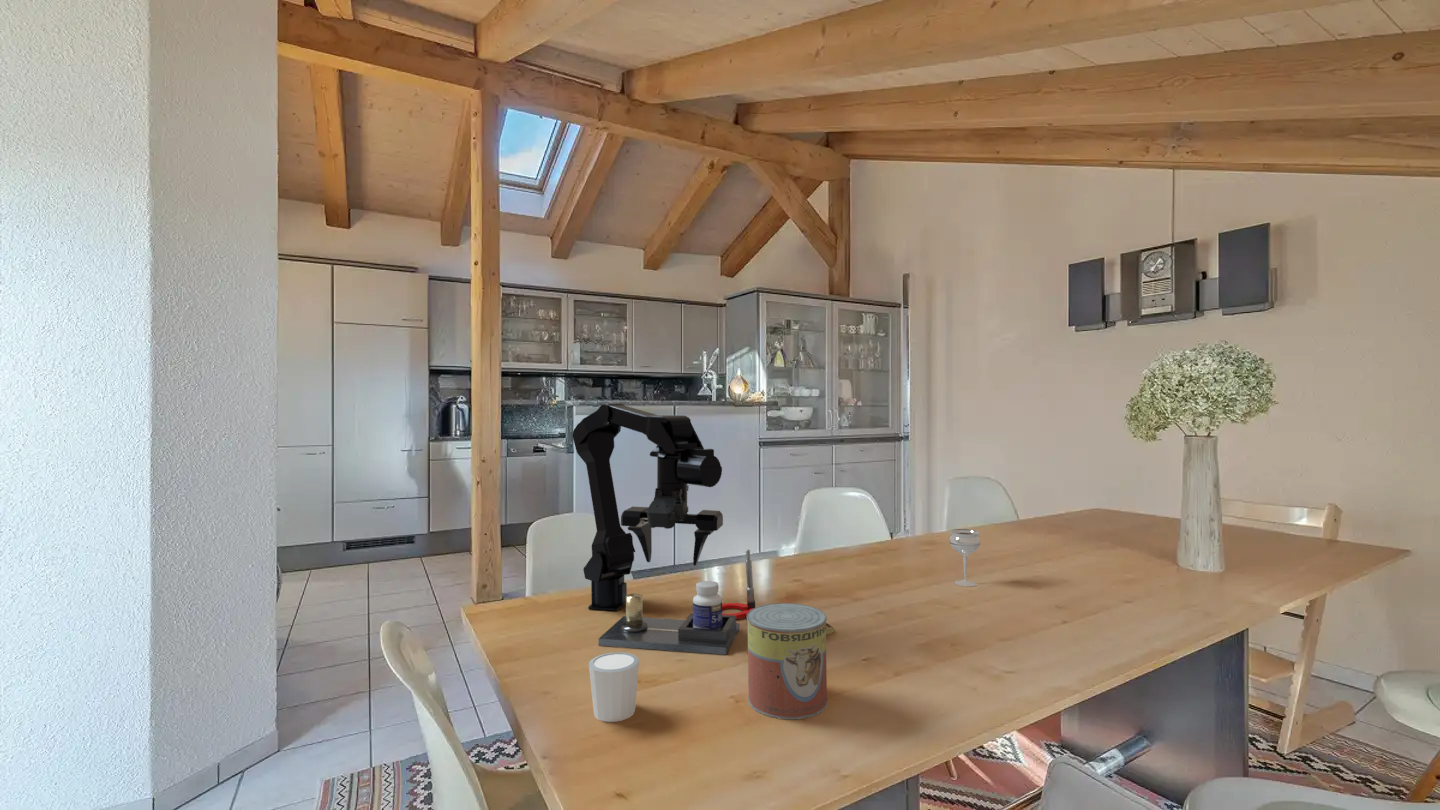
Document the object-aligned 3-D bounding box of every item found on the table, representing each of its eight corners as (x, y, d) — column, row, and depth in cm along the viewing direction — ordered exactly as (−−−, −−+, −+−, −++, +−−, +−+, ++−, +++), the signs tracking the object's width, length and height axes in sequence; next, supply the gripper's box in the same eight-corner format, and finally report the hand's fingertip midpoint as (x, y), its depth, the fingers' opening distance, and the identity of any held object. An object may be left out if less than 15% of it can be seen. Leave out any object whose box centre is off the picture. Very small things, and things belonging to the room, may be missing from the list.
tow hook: (708, 622, 122) (756, 620, 122) (704, 557, 123) (751, 554, 122) (711, 609, 131) (755, 607, 130) (707, 547, 131) (751, 545, 130)
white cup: (592, 701, 89) (591, 652, 89) (640, 698, 90) (639, 650, 90) (586, 725, 82) (585, 672, 82) (638, 722, 83) (637, 670, 83)
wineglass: (953, 587, 142) (952, 534, 142) (947, 578, 149) (946, 528, 149) (984, 588, 141) (983, 535, 141) (977, 579, 148) (976, 529, 148)
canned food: (771, 726, 81) (770, 634, 82) (735, 691, 92) (733, 609, 92) (843, 709, 86) (842, 621, 86) (801, 677, 96) (800, 599, 96)
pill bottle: (716, 640, 109) (715, 589, 109) (688, 636, 110) (687, 586, 110) (726, 629, 114) (726, 581, 114) (700, 626, 115) (699, 578, 115)
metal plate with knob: (598, 645, 110) (598, 604, 110) (623, 622, 122) (623, 585, 122) (725, 654, 105) (725, 612, 105) (739, 629, 117) (738, 591, 117)
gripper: (609, 485, 113) (609, 571, 113) (710, 489, 109) (709, 579, 109) (631, 477, 123) (631, 556, 124) (723, 481, 119) (723, 562, 120)
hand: (671, 563), depth 119 cm, fingers open, 9 cm apart
